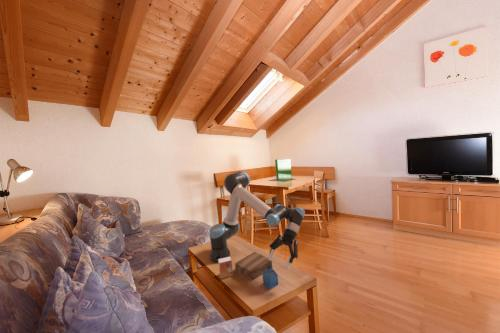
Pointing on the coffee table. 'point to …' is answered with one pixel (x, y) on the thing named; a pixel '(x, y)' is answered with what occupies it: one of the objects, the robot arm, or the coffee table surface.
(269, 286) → the perfume bottle
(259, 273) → the walnut riser block
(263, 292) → the coffee table surface
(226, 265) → the small box
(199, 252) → the coffee table surface
